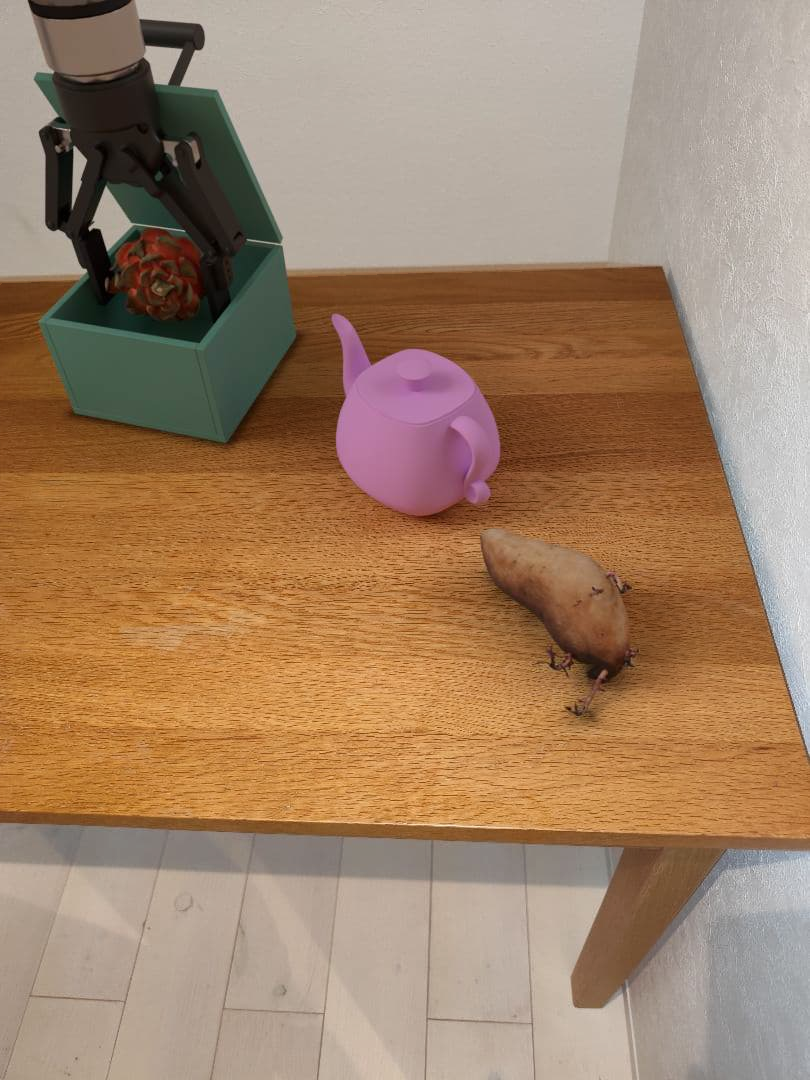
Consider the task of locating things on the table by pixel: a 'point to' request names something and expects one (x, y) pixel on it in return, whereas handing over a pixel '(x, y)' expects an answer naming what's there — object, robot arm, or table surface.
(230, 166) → the chest lid
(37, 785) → the table surface
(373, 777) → the table surface
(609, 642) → the vegetable
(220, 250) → the robot arm
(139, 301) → the dragon fruit
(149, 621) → the table surface
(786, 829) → the table surface
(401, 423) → the teapot
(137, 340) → the storage chest
